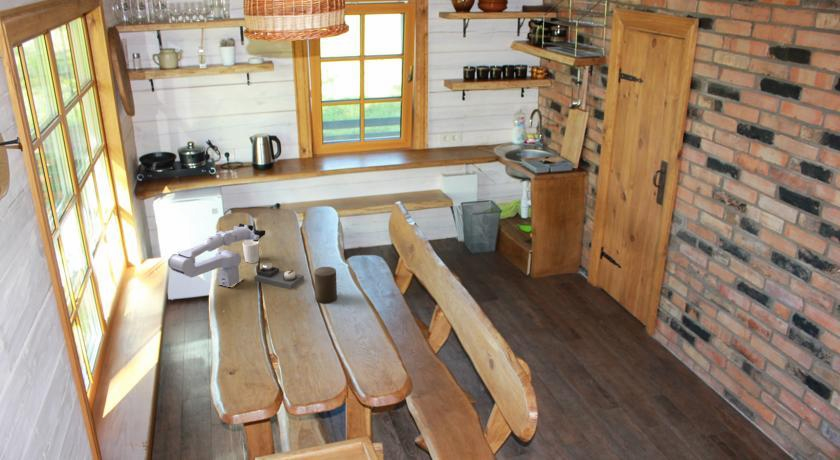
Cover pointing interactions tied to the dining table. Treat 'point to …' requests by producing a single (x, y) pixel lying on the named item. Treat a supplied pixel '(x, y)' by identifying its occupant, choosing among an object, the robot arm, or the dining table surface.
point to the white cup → (251, 251)
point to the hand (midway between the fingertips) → (258, 230)
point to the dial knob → (289, 274)
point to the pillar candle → (325, 284)
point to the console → (277, 278)
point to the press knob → (267, 266)
